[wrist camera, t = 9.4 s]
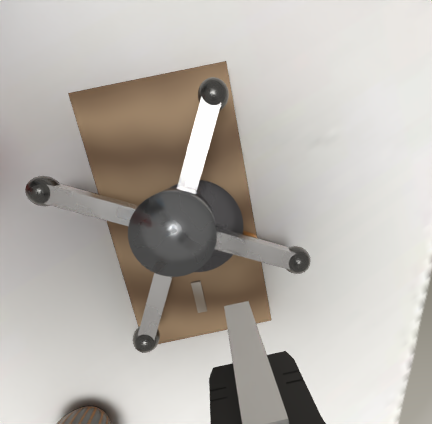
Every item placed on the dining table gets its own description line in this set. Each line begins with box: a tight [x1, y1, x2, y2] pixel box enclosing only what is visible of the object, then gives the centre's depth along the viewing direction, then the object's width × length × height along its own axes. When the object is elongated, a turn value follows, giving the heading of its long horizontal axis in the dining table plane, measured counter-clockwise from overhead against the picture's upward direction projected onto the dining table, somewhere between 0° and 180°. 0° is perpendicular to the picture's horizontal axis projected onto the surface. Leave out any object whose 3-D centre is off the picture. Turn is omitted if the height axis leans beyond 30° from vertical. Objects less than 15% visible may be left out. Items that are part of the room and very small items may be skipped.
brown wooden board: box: [68, 61, 271, 344], centre depth 21 cm, size 24×14×2 cm, turn 11°
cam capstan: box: [25, 77, 310, 353], centre depth 18 cm, size 22×22×5 cm
